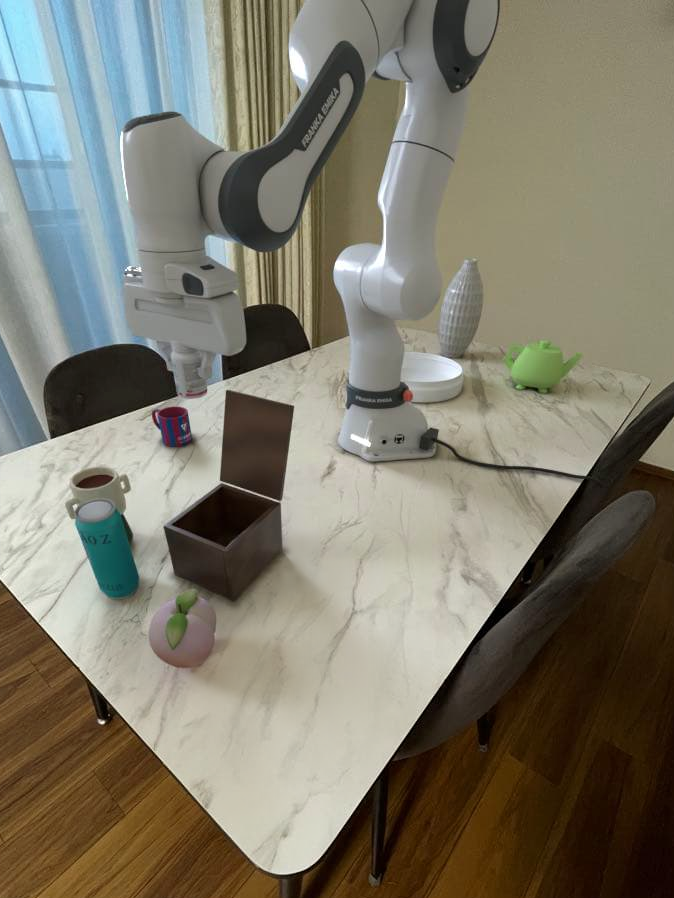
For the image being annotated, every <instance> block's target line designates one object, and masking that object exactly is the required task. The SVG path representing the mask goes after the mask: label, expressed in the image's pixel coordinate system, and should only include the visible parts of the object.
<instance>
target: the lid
mask: <svg viewBox="0 0 674 898" xmlns="http://www.w3.org/2000/svg"><path fill="white" fill-rule="evenodd" d="M224 398H225V399H224V414H223V426H222V427H223V429H222V441H221V442H222V443H221V457H220V473H219V482H221V483H224V484H227V485H230V486H233V487H236V488H239V489H242V490H245V491H247V492H250V493H253V494H256V495H259V496H262V497H265V498H268V499H271V500H274V501H277V502H281V501H282V500H283V496H284V490H285V489H284V488H285V482H286V473H287V466H288V458H289V449H290V443H291V436H292V435H291V434H292V428H293V419H294V412H295V405H293V404H289V403H284V402H281V401H278V400H277V401H276V400H272V399H268V398H264V397H261V396H256V395H252V394H248V393H244V392H240V391H237V390H236V391H235V390H231V389H226V390H225V397H224Z"/></svg>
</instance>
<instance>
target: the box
mask: <svg viewBox="0 0 674 898" xmlns="http://www.w3.org/2000/svg"><path fill="white" fill-rule="evenodd" d="M282 523H283V522H282V503H281V502H280V501H277V500H274V499H271V498H268V497H265V496H262V495H259V494H256V493H254V492H251V491H248V490H245V489H242V488H239V487H236V486H233V485H230V484H227V483H224V482H221V483H219V484H218V485H216V486H215V487H214V488H212V489H211V490H210V491H208V492H207V493H206V494H204V495H203V496H201V498H198V499H197V500H196V501H195V502H193V503H192V504H191V505H189V506H188V507H186V508H185V509H184V510H183V511H181V512H180V513H179V514H177V515H176V516H175V517H173V518H172V519H170V520H169V521H168V522H166V523H165V524H164V525H163V526H162V527H163V530H164V531H163V532H164V535H165V539H166V543H167V547H168V548H167V549H168V552H169V557H170V560H171V565H172V569H173V573H174V576H176V577H177V578H179V579H183V580H185V581H187V582H189V583H191V584H193V585H195V586H198V587H200V588H202V589H205V590H206V591H209V592H210V593H212V594H215V595H217V596H220V597H222V598H224V599H226V600H229V601H231V602H233V603H234V602H235V601H237V599H239V597H240V596H241V595H242V594H243V593H244V592H245V591H246V590H247V589H248V588H249V587H250V586H251V585H252V584H253V583H254V581H255V580H257V578H259V576H260V575H261V574H263V572H264V571H265V570H266V569H267V568H268V567H269V566H270V565H271V564H272V563H273V562H274V561H275V559H277V557H278V556H279V555H281V554H282V552H283V527H282Z"/></svg>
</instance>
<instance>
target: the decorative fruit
mask: <svg viewBox="0 0 674 898" xmlns="http://www.w3.org/2000/svg"><path fill="white" fill-rule="evenodd" d="M217 621H218V619H217V613H216V611H215V609H214V607H213V606H212V604H211V603H209V602H208V601H207V600H205V599H204V598H202V597H200V596H198V591H197V590H196V589H195V588H190V589H186V590H183V592H181V593H180V594H179V595H178V596H176V598H173V599H170V600H169V601H166V602H165V603H163V604H161V606H159V608H157V610H156V611H155V612H154V614H153V615H152V617H151V620H150V623H149V627H148V634H147V635H148V642H149V643H148V644H149V646H150V649H151V650H152V652H153V653H154V654H155V656H156V657H157V658H158V659H159V660H160V661H162V662H163V663H166V664H167V665H170V666H172V667H174V668H179V669H191V668H194V667H197V666H198V665H201V664H202V663H203V662H205V660H207V659H208V657H209V656H210V655H211V653H212V651H213V649H214V647H215V644H216V629H217Z"/></svg>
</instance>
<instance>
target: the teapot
mask: <svg viewBox="0 0 674 898" xmlns="http://www.w3.org/2000/svg"><path fill="white" fill-rule="evenodd" d="M515 351H516V352H518V354H517V356H516V358H515V359H514V360H513V358H512V357H513V354H514V352H515ZM582 358H583V354H582V353H578V352H576V353H575V354H574V355H573V356H572V357H570V358H569V359H568V360H566V362H564V357H563V351H562V348H561V347H560V346H558V345H554V344H552V342H551V341H550V340H546V339H543V340H542V339H541V340H540V341H539V342H530V343H527V344H526V345H525V346H522V345H520V344H519V345H518V344H515V343H511V344H510V346H509V348H508V350H507V351H506V354H505V355H504V357H503V359H502V362H503V364H504V365H505V366H506V367H507V369H508V370H509V371H510V376H511V379H512V381H513V382H514V383H516V384H517V385H516V386H515V388H516V389H518V390H525V389H526V387H531V388H536V389H538V390H537V392H539V393H543V394H544V393H545V394H546V393H548V389H550V388H553V387H555V386H557V384H559V382H560V381H561V380H562V379H563V378H565V377H566V376H567V375H568V373H570V372H571V370H572V369H573V368H574V366H575V365H576V364H577V363H578V362H579V361H580V360H581V359H582Z"/></svg>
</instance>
